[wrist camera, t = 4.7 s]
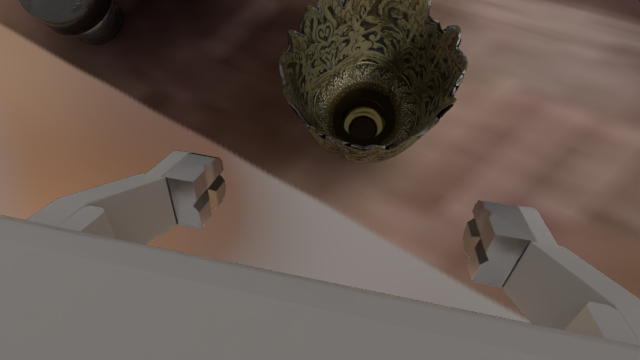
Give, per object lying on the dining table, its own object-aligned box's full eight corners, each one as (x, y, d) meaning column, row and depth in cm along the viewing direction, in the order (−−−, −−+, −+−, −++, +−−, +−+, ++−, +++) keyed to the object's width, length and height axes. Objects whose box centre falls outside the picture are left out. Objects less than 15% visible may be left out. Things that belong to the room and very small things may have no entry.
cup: (284, 115, 21) (245, 39, 13) (376, 56, 22) (391, -53, 14) (347, 209, 20) (344, 184, 12) (446, 143, 20) (508, 76, 12)
